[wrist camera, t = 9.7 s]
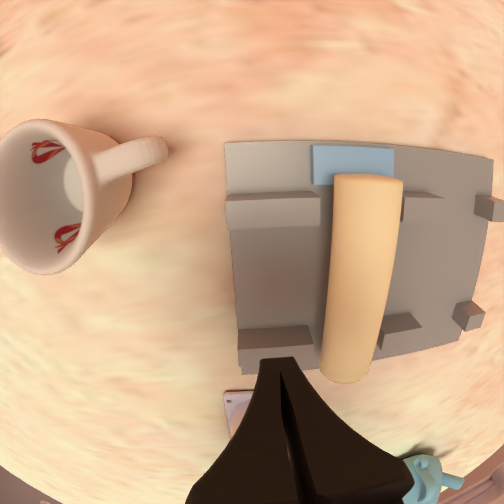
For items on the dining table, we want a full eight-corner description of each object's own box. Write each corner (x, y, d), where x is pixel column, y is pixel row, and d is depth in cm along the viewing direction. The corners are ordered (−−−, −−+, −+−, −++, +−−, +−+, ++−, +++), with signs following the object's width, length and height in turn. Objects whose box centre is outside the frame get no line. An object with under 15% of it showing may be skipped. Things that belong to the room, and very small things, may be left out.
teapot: (372, 454, 32) (395, 522, 20) (470, 420, 32) (500, 470, 21) (343, 498, 39) (354, 548, 27) (428, 473, 39) (445, 515, 28)
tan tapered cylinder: (362, 346, 22) (374, 380, 19) (316, 349, 23) (322, 386, 19) (387, 174, 17) (415, 187, 13) (327, 172, 17) (344, 184, 13)
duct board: (453, 335, 24) (469, 353, 21) (242, 367, 24) (242, 395, 21) (486, 158, 18) (512, 163, 15) (225, 143, 18) (221, 142, 15)
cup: (169, 91, 16) (123, 61, 9) (200, 203, 19) (173, 241, 12) (44, 149, 17) (-29, 160, 10) (73, 243, 20) (12, 289, 12)
